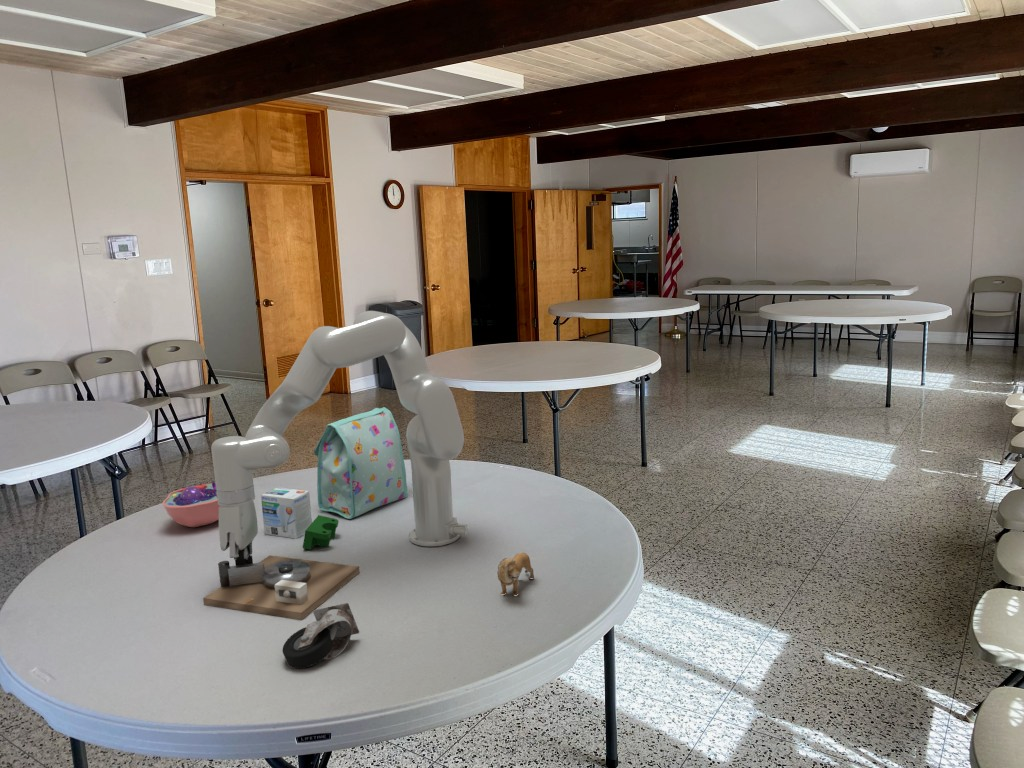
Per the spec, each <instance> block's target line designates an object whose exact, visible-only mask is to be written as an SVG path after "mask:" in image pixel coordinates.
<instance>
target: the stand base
mask: <svg viewBox="0 0 1024 768" xmlns="http://www.w3.org/2000/svg"><path fill="white" fill-rule="evenodd" d="M292 560H297V561H304V562H306V563H308V564H309V566H310V575H311V576H310V578H309V580H307V581H306V582H305V583H302V582H295V581H287V580H281V581H279V582H278V583H276V584H275V589H270V588H267V587H265V586H264V585H263V582H256V583H248V584H240V585H232V586H228V587H221V586H220V587H218V588H216V589H214V590H213V591H211V592H210V593H209V594H207V595H205V596H204V597H203V598H202V600H203V601H202V602H203V605H204V606H211V607H215V608H216V607H218V608H224V609H230V610H231V609H232V610H237V611H244V612H249V613H255V614H256V613H257V614H263V615H269V616H275V617H276V616H277V617H281V618H286V619H287V618H289V619H295V620H300V621H302V620H303V619H305V618H306V617H308V616H309V615H310V614H311V613H313V611H314V610H317V609H318V607H320V606H321V605H322V604H323V603H324V602H325V601H327V600H328V599H329V598H330V597H332V596H333V595H335V593H336V592H338V591H339V590H341V588H343V587H344V586H345V585H347V584H348V583H349V582H350V581H352V579H354V578H355V577H356V576H357V575H359V574H360V566H359V565H358V566H357V565H350V564H343V563H335V562H324V561H317V560H309V559H301V558H293V557H286V556H285V557H284V556H278V555H268V556H267V557H264V559H262V560H260V561H258V563H262V562H264V569H266V568H267V567H269V566H271V565H273V564H276V563H279V562H284V561H292Z"/></svg>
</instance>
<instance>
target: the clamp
mask: <svg viewBox="0 0 1024 768" xmlns="http://www.w3.org/2000/svg"><path fill="white" fill-rule="evenodd" d="M338 527H339V519H337V518H334V517H328V516H324V515H320V514H318V515H317V516H316V518H315V519H314V520H313V521H312V523H311V525H310V526H309V527H308V528H307V529H306V531H305V534H304V538H303V544H302V548H303V549H304V550H309V551H311V550H313V548H314V547H315V546H321V547H324V548H329V546H330V543H331V540H334V539H335V536H336V530H337V528H338Z"/></svg>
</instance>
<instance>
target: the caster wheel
mask: <svg viewBox="0 0 1024 768" xmlns="http://www.w3.org/2000/svg"><path fill="white" fill-rule="evenodd" d="M312 613H313V615H314V618H315V620H316V621H313V622H310V623H309V624H307V625H306V626H305V627H303V628H301V629H299V630H297V631H296V632H294V633H293V634H291V635H290V636H289V638H287V640H285V642H284V643H283V647H282V654H283V656H284V659H285V661H286V664H287V665H288V666H289V667H291V668H293V669H305V668H309V667H312V666H313V665H316V664H317V663H320V662H321V661H322V660H325V661H327V660H330V659H333V658H336V657H338V656H339V655H340V654H341V653H342V652H344V650H345V649H346V648H347V646H348V644H349V642H350V640H351V637H352V635H353V636H354V635H358V634H360V629H359V627H358V625H357V622H356V620H355V617H354V614H353V612H352V609H351V606H350V605H349V603H348V602H345V603H340V604H336V605H331V606H326V607H321V608H316V609H315V610H313V611H312Z"/></svg>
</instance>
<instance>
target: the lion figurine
mask: <svg viewBox="0 0 1024 768" xmlns="http://www.w3.org/2000/svg"><path fill="white" fill-rule="evenodd" d="M523 568H524V569H525V570H524V573H525V574H527V573H529V576H528V579H529V578H534V579H535V575H534V569H533V568H532V565H531V560H530V556H529V555H528V553H526V552H518V553H516V554H515V555H514V556H513V558H510V557H507V558H503V559H502V560H501V561H499V564H498V565H497V579H498V581H499V582H500V585H501V590H502V591H501V592H500V595H501V594H505V593H506V594H508V592H507V591H508V590H507V586H511V585H512V595H513V594H514V595H517V594H519V590H518V589H519V588H518V586H519V578H520V574H521V572H522V570H523Z"/></svg>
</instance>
